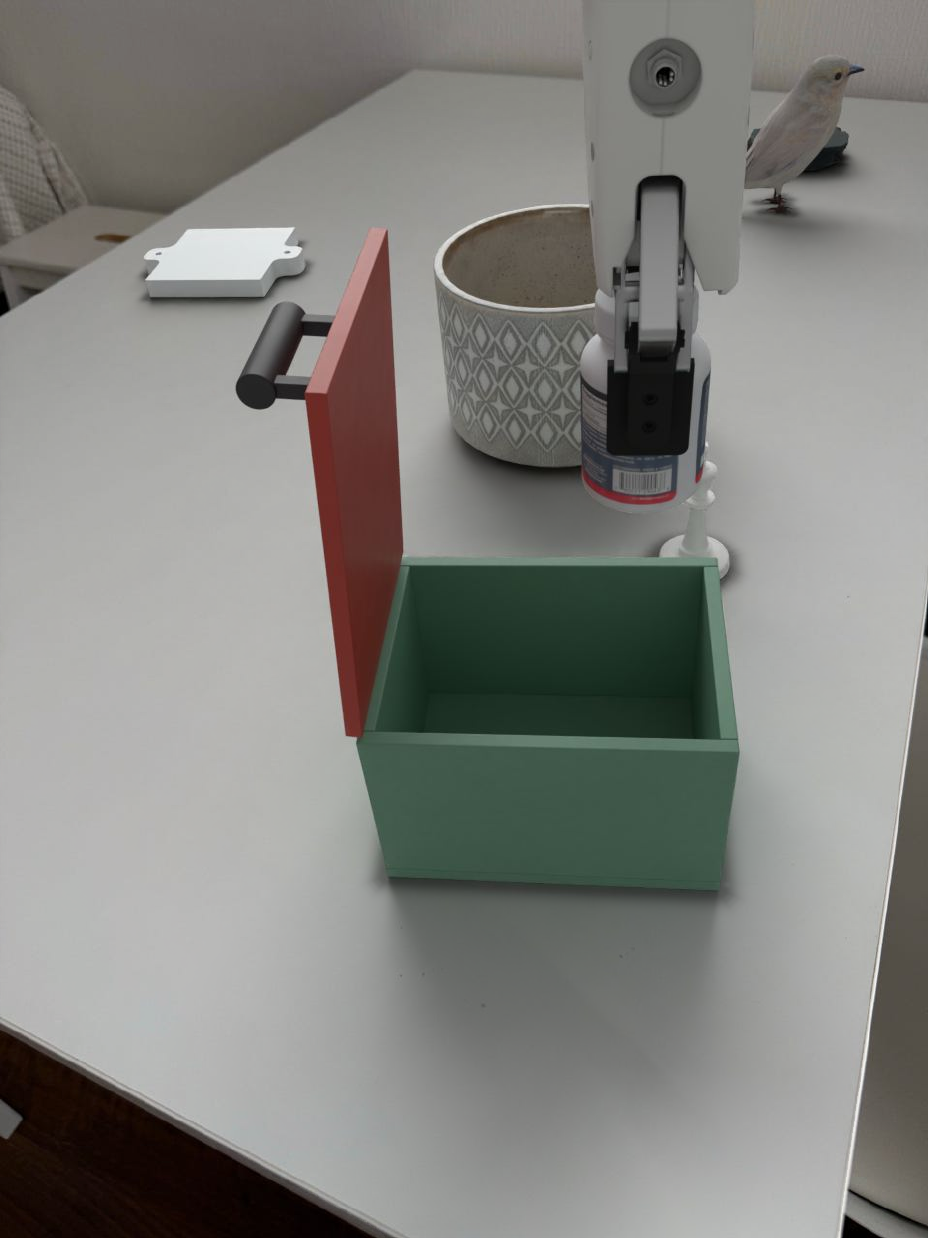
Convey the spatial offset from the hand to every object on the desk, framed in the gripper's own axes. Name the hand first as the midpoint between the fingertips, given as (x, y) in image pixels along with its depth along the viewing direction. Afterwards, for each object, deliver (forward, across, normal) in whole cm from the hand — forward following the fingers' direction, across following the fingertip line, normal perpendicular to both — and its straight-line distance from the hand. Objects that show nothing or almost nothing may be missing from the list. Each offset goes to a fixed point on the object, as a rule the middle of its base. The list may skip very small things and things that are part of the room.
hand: (645, 405), depth 43 cm
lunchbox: (+25, -1, +4) cm, 25 cm away
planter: (+25, +38, +6) cm, 45 cm away
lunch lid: (+4, -1, +12) cm, 13 cm away
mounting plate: (+25, +68, +44) cm, 85 cm away
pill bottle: (+4, 0, 0) cm, 4 cm away
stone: (+25, +93, -20) cm, 98 cm away
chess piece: (+25, +19, -4) cm, 31 cm away
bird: (+25, +80, -17) cm, 85 cm away
